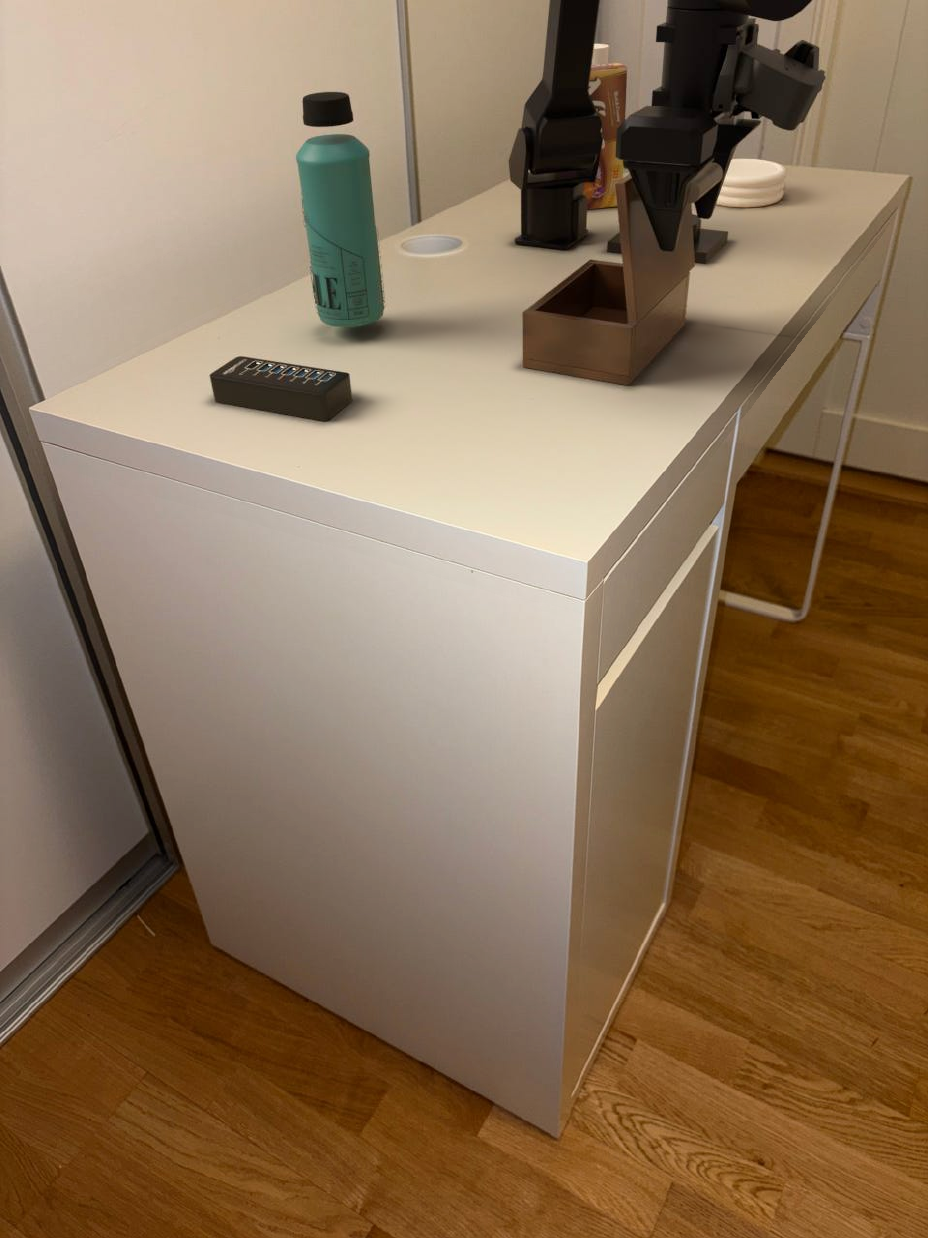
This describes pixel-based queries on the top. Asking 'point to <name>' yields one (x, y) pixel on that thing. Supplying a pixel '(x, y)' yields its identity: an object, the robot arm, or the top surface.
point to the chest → (598, 326)
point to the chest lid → (655, 245)
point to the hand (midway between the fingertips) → (686, 233)
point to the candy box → (607, 131)
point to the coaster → (752, 183)
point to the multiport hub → (282, 388)
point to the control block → (704, 242)
